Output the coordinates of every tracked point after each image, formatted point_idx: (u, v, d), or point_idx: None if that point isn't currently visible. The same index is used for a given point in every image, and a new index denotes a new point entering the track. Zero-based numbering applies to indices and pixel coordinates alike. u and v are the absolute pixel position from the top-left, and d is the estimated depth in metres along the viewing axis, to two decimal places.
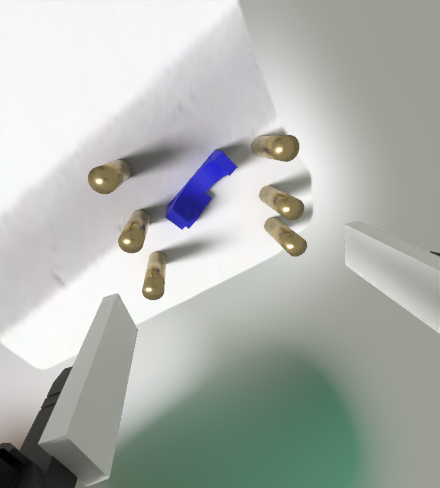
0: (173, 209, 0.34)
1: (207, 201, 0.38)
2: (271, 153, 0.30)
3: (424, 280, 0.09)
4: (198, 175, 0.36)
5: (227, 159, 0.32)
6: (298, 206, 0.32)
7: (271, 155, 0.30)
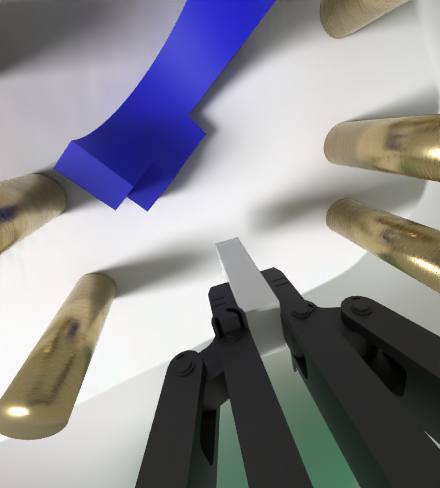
0: (79, 142, 0.10)
1: (195, 140, 0.15)
2: None
3: None
4: (166, 56, 0.13)
5: None
6: None
7: None
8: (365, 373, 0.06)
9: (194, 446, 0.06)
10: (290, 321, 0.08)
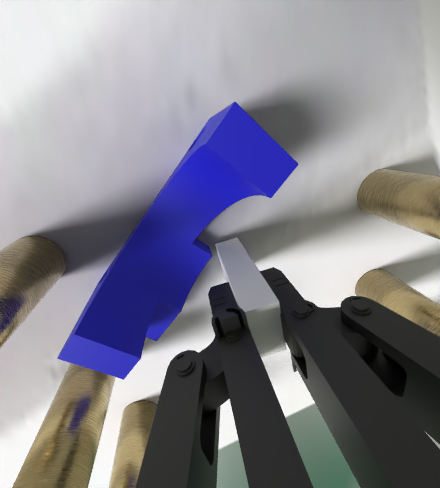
0: (82, 327, 0.10)
1: (200, 263, 0.14)
2: None
3: None
4: (166, 199, 0.12)
5: (260, 136, 0.08)
6: None
7: None
8: (365, 373, 0.06)
9: (194, 446, 0.06)
10: (290, 321, 0.08)
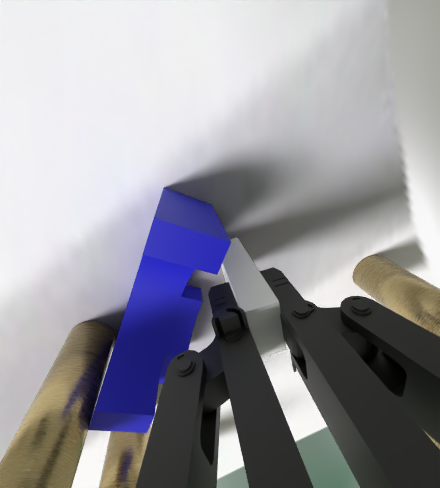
0: (100, 402, 0.12)
1: (194, 310, 0.15)
2: None
3: None
4: (145, 270, 0.14)
5: (186, 234, 0.09)
6: None
7: None
8: (365, 373, 0.06)
9: (194, 446, 0.06)
10: (290, 321, 0.08)
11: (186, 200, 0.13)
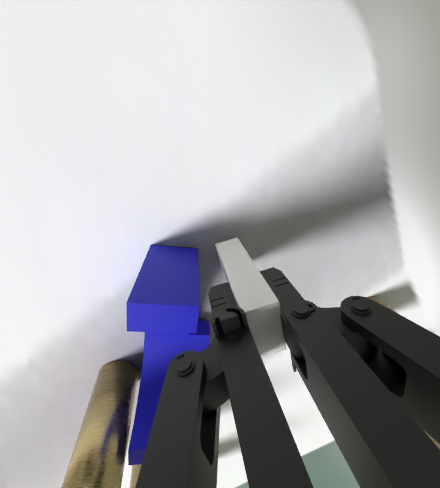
0: (133, 441, 0.14)
1: (204, 344, 0.17)
2: None
3: None
4: None
5: (158, 308, 0.10)
6: None
7: None
8: (365, 373, 0.06)
9: (194, 446, 0.06)
10: (290, 321, 0.08)
11: (170, 255, 0.14)
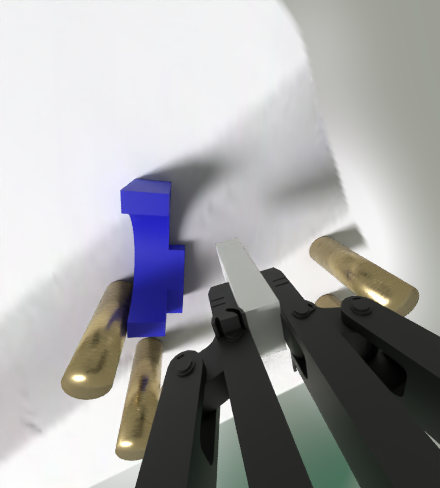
0: (130, 319, 0.19)
1: (181, 257, 0.22)
2: None
3: None
4: (138, 235, 0.20)
5: (141, 195, 0.15)
6: None
7: None
8: (365, 373, 0.06)
9: (194, 446, 0.06)
10: (290, 321, 0.08)
11: (149, 182, 0.19)
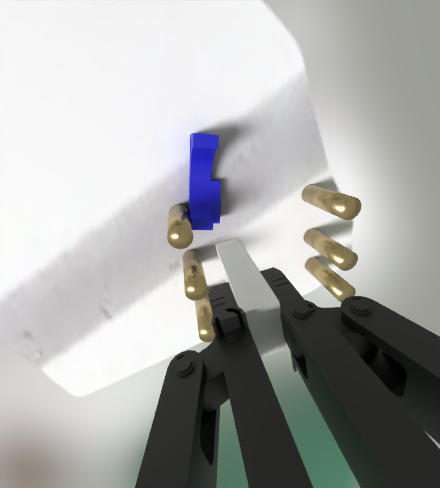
0: (192, 218, 0.32)
1: (218, 186, 0.35)
2: (332, 210, 0.32)
3: None
4: (192, 170, 0.33)
5: (204, 136, 0.28)
6: (352, 258, 0.33)
7: (331, 211, 0.32)
8: (365, 373, 0.06)
9: (194, 446, 0.06)
10: (290, 321, 0.08)
11: None
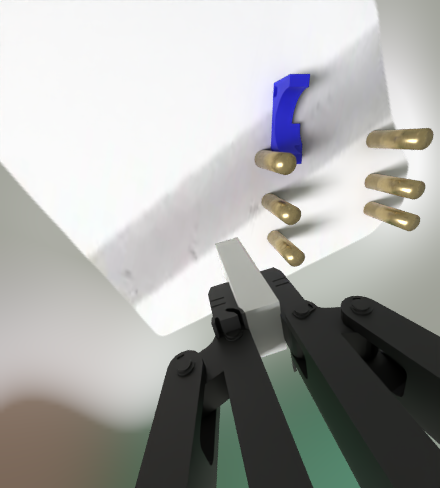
0: None
1: (298, 128, 0.40)
2: (405, 143, 0.37)
3: None
4: (278, 115, 0.38)
5: (298, 76, 0.33)
6: (420, 187, 0.39)
7: (403, 145, 0.37)
8: (365, 373, 0.06)
9: (194, 446, 0.06)
10: (290, 321, 0.08)
11: None
